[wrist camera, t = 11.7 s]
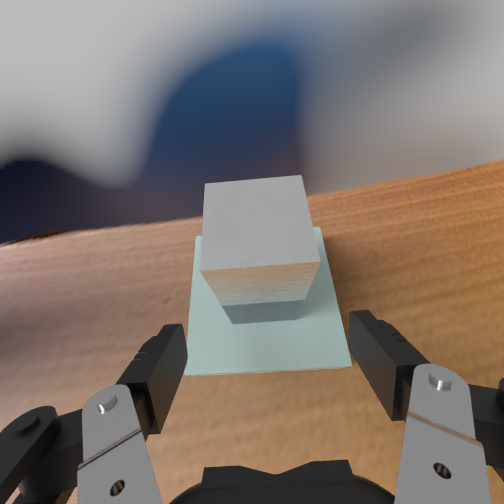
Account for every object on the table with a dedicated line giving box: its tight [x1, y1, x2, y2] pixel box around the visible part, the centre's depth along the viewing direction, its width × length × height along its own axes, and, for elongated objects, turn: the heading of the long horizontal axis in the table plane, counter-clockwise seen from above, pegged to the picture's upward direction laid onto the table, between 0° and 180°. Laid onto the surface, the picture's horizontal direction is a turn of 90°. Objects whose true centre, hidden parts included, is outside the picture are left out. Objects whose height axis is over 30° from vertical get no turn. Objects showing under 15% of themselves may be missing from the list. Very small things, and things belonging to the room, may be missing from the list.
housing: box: [200, 175, 321, 324], centre depth 15 cm, size 5×5×10 cm
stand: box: [184, 227, 352, 376], centre depth 21 cm, size 12×12×3 cm
